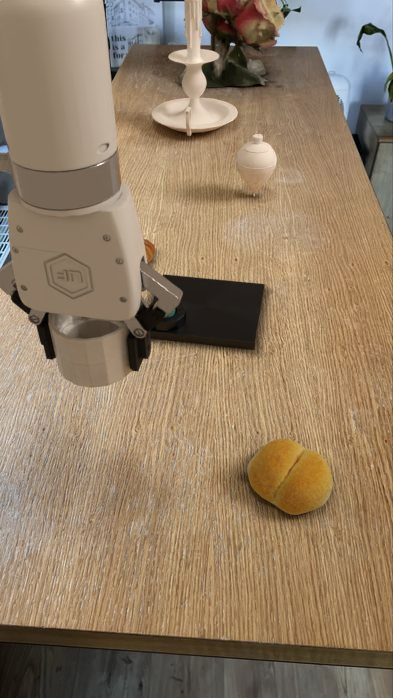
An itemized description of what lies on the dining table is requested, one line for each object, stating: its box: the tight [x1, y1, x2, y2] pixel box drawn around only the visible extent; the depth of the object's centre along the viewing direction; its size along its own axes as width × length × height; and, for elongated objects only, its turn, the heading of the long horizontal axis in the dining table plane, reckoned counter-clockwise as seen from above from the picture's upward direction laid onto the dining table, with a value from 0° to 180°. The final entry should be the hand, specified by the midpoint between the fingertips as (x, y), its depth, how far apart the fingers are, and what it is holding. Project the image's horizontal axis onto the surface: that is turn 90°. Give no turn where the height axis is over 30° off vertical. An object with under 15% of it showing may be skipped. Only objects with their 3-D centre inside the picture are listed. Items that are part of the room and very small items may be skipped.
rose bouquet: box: [175, 0, 285, 88], centre depth 162 cm, size 26×29×30 cm
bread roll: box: [246, 438, 334, 516], centre depth 63 cm, size 8×9×4 cm
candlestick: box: [150, 0, 239, 137], centre depth 131 cm, size 21×25×28 cm
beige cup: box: [48, 313, 133, 389], centre depth 53 cm, size 7×7×6 cm
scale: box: [148, 274, 266, 351], centre depth 86 cm, size 16×14×3 cm
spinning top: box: [235, 133, 278, 197], centre depth 110 cm, size 8×8×12 cm
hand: (97, 354), depth 54 cm, fingers closed on beige cup, 7 cm apart
